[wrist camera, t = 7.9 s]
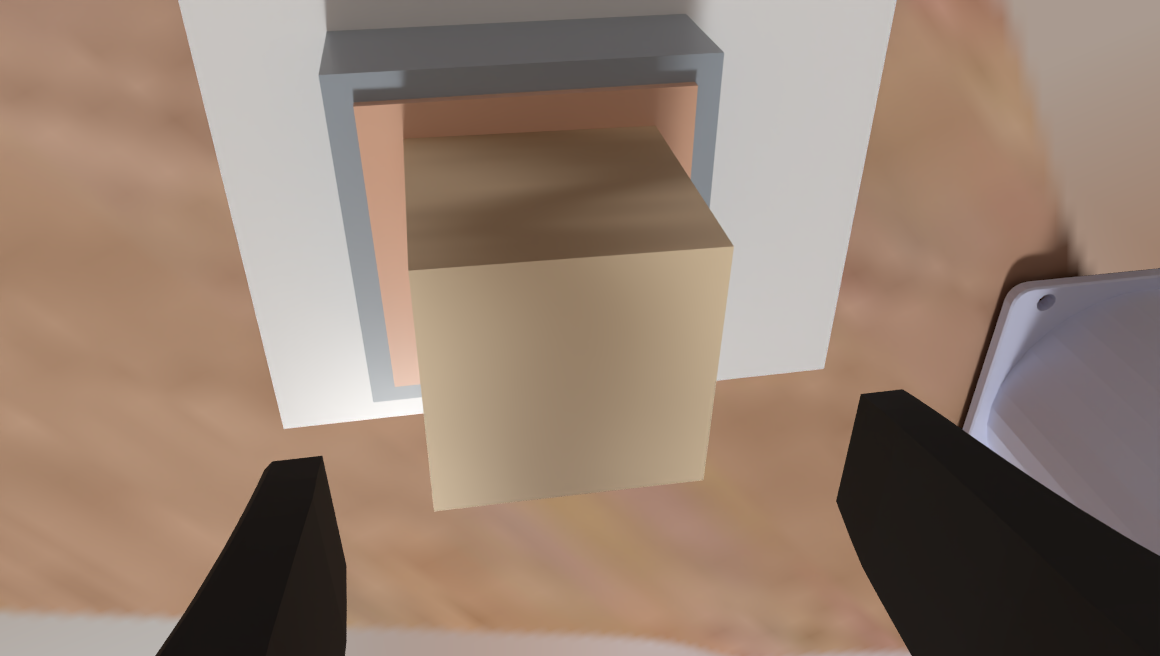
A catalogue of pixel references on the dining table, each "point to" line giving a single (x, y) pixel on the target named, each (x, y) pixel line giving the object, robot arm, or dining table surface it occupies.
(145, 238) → the dining table surface
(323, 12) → the base
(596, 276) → the maple block
